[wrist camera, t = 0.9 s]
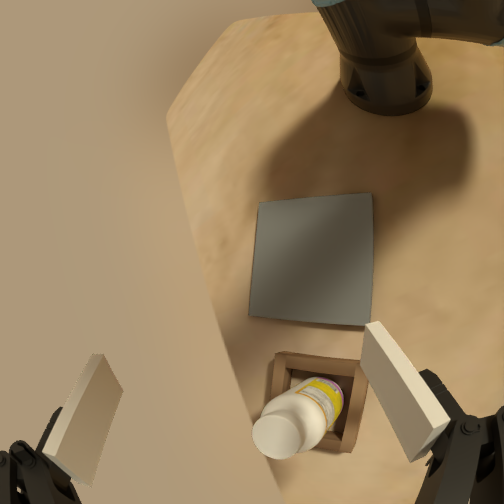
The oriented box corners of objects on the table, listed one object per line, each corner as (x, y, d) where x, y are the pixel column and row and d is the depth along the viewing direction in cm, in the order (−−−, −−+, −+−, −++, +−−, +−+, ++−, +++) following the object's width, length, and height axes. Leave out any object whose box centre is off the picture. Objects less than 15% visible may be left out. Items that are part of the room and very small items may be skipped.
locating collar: (283, 351, 34) (275, 353, 32) (371, 361, 28) (369, 365, 26) (273, 428, 32) (265, 434, 30) (355, 444, 26) (350, 453, 24)
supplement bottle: (299, 424, 30) (247, 466, 20) (291, 379, 33) (235, 405, 22) (349, 419, 27) (315, 469, 17) (341, 371, 30) (304, 401, 19)
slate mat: (262, 204, 40) (259, 202, 40) (372, 195, 32) (371, 192, 31) (252, 315, 38) (248, 315, 37) (369, 325, 29) (368, 326, 28)
